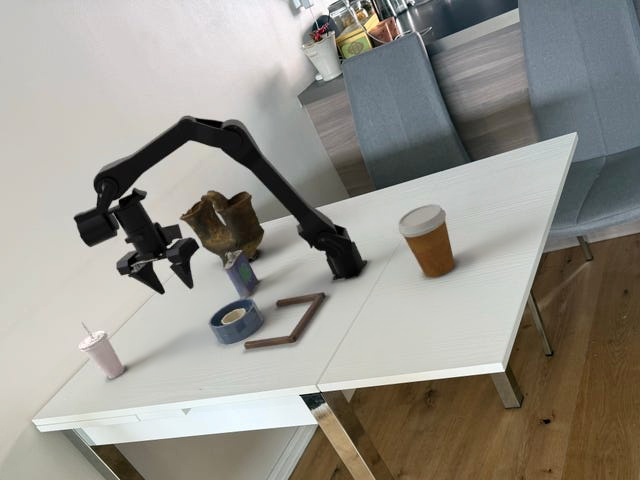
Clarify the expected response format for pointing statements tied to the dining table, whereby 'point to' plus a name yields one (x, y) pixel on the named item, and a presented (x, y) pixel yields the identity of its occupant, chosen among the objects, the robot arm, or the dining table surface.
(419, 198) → the dining table surface
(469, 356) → the dining table surface
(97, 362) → the smoothie
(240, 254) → the flask
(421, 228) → the disposable coffee cup
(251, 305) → the blue-grey round ring piece
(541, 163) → the dining table surface
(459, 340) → the dining table surface
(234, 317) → the small bowl
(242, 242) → the pottery vessel
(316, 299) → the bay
